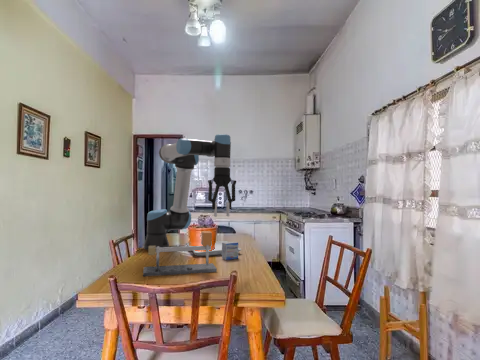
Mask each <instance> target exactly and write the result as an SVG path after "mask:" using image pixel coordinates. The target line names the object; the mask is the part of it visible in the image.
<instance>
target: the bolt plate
mask: <svg viewBox="0 0 480 360" xmlns="http://www.w3.org/2000/svg"><path fill="white" fill-rule="evenodd" d="M217 269H218V268H217V267H216V266H215V264H214V263H212V262H211V263H209V262H208V266H206V263H195V264H175V265H159V268H158V269H157V268H156V265H155V266H153V265H152V266H144V267H143V271H142V273H143V274H142V277H156V276H159V277H160V276H172V275H173V276H174V275H176V276H177V275H187V274H188V275H189V274H191V273H192V274H205V273H218V272H217Z"/></svg>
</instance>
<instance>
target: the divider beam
mask: <svg viewBox="0 0 480 360" xmlns="http://www.w3.org/2000/svg"><path fill="white" fill-rule="evenodd" d="M193 250H206V246H187V245H186V246H185V245H183V246H169V247H159V246H157V247H156V246H149V248H148V250H147V251H148V254H147V255H148V256H156V258H155V260H156V261H155V262H156V263H155V266H156V268H157V269H158V268H159V266H160V253H163V252H164V253H165V252H166V253H167V252H190V251H192V252H193ZM209 250H211V246H209Z"/></svg>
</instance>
